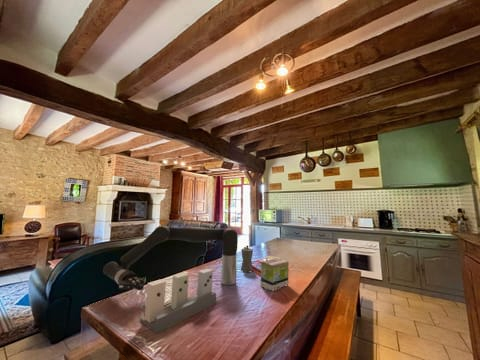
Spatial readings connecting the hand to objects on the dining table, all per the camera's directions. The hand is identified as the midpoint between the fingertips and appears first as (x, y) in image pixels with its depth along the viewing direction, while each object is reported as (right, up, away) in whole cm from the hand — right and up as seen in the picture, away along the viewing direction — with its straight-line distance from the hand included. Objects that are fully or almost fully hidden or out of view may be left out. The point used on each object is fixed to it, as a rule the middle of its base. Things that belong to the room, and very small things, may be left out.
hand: (141, 287), depth 91 cm
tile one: (+10, -8, -8) cm, 15 cm away
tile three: (+28, -10, +8) cm, 31 cm away
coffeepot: (+50, -19, +61) cm, 81 cm away
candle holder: (+68, -18, +49) cm, 86 cm away
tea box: (+67, -16, +30) cm, 75 cm away
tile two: (+17, -9, +1) cm, 20 cm away
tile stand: (+18, -10, 0) cm, 21 cm away
